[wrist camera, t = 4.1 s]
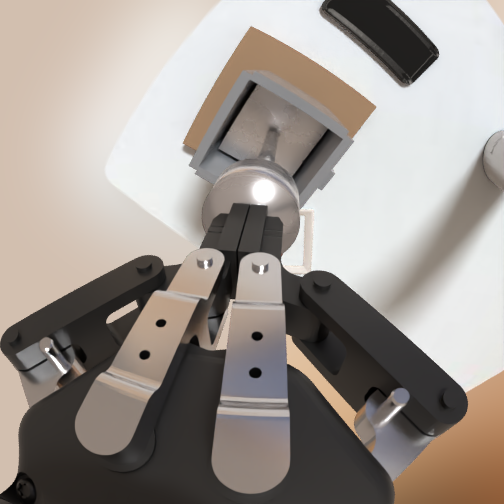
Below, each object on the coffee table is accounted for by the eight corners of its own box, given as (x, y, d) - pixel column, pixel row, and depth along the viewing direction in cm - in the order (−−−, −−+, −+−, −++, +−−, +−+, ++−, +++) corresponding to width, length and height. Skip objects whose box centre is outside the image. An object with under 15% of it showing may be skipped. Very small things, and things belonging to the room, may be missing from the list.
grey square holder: (373, 105, 31) (421, 132, 19) (296, 204, 41) (296, 274, 29) (252, 27, 27) (226, 2, 15) (186, 140, 37) (133, 184, 25)
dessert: (310, 269, 49) (311, 289, 45) (240, 268, 50) (235, 287, 47) (313, 206, 42) (315, 222, 38) (232, 206, 43) (226, 222, 40)
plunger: (327, 126, 25) (370, 204, 12) (284, 184, 29) (274, 306, 16) (259, 82, 23) (214, 104, 10) (219, 146, 28) (148, 239, 14)
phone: (408, 87, 28) (318, 6, 24) (405, 86, 29) (317, 8, 25) (442, 53, 24) (356, -29, 20) (438, 53, 25) (354, -26, 21)
